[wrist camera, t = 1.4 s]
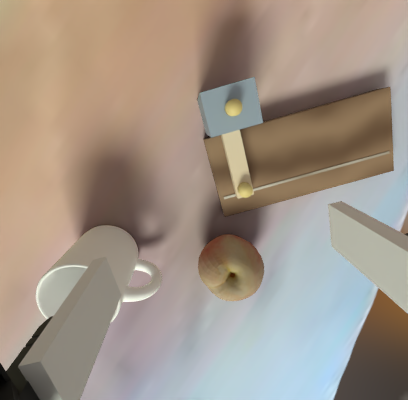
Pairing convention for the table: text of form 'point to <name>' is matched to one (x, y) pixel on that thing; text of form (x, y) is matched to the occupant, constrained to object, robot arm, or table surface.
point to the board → (309, 151)
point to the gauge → (232, 125)
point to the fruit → (231, 267)
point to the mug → (83, 256)
